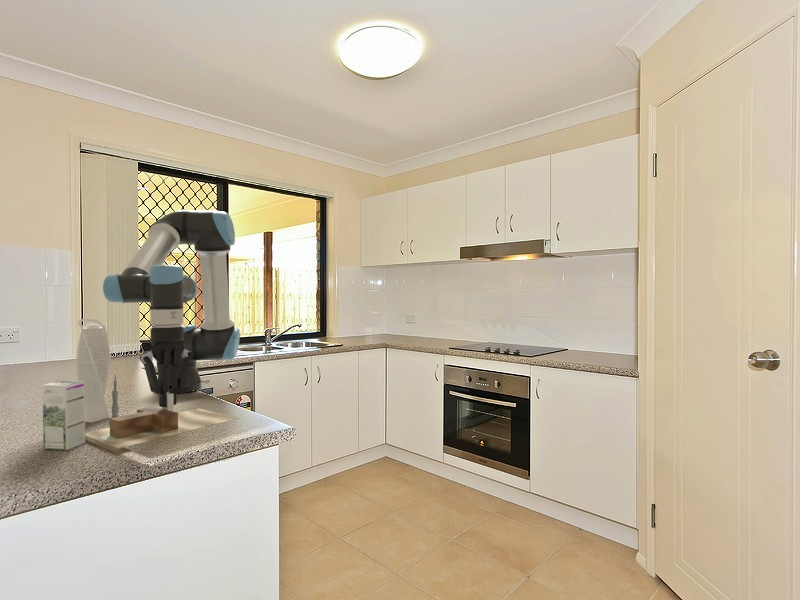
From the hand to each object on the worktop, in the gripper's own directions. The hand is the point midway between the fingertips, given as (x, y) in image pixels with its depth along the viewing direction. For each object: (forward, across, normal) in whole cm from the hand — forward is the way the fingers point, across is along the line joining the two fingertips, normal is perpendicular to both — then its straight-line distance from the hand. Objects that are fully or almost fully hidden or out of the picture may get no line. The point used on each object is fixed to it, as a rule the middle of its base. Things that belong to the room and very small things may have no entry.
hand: (168, 418), depth 116 cm
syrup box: (+3, -20, +6) cm, 21 cm away
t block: (+1, -7, 0) cm, 7 cm away
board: (+3, -1, 0) cm, 3 cm away
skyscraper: (+3, -8, +21) cm, 23 cm away
